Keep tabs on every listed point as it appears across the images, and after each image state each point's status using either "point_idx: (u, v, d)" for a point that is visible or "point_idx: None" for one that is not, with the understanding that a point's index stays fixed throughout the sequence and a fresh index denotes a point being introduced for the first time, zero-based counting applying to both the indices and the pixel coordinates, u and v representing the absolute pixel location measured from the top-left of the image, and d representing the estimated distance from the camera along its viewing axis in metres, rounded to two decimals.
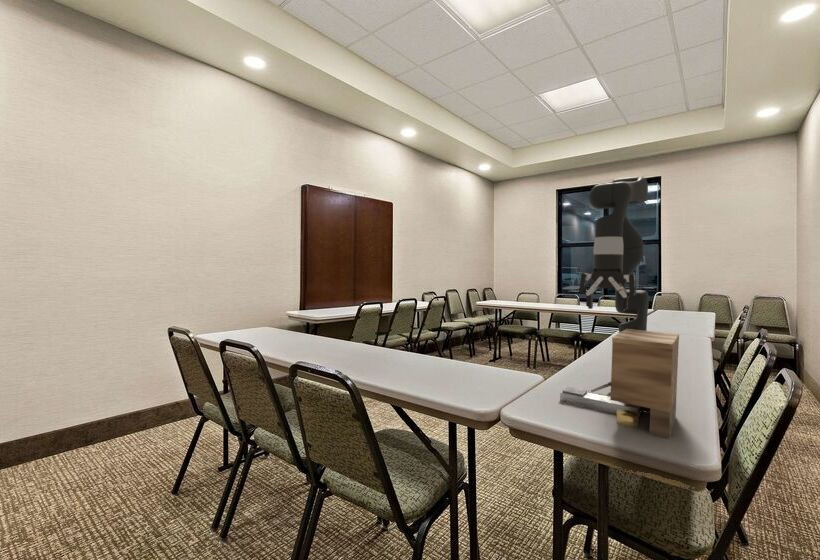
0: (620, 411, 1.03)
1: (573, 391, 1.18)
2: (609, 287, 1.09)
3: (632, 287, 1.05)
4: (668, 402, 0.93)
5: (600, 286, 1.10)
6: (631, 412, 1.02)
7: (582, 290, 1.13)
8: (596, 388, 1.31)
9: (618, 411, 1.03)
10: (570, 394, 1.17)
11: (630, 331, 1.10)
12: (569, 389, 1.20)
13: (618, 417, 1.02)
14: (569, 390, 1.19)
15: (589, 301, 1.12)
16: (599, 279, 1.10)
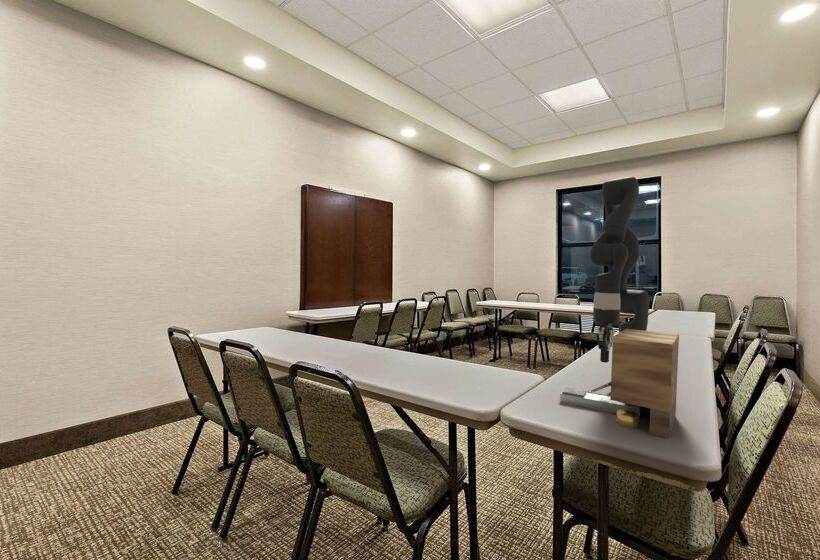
0: (620, 411, 1.03)
1: (573, 392, 1.17)
2: None
3: None
4: (668, 402, 0.93)
5: (608, 338, 1.19)
6: (631, 412, 1.02)
7: (607, 346, 1.18)
8: (596, 388, 1.31)
9: (618, 411, 1.03)
10: (570, 395, 1.16)
11: (630, 331, 1.10)
12: (568, 390, 1.19)
13: (618, 417, 1.02)
14: (569, 391, 1.18)
15: (608, 355, 1.20)
16: (611, 332, 1.18)
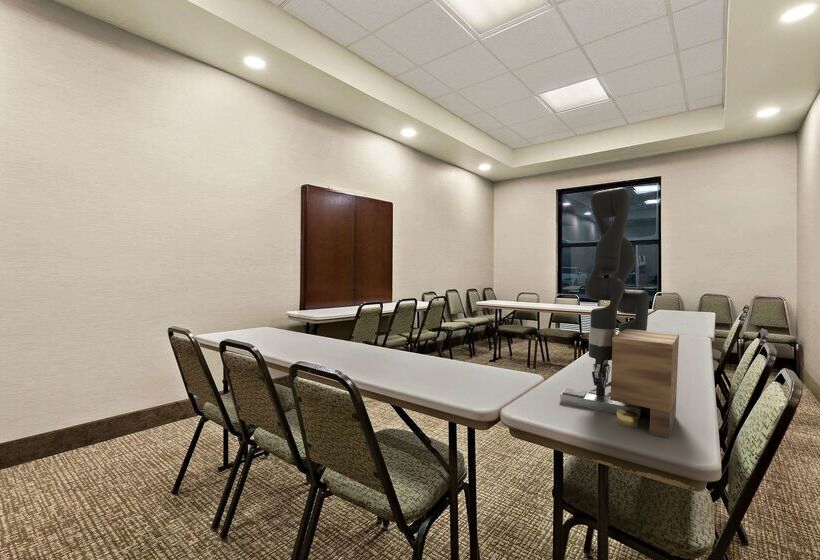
0: (620, 411, 1.03)
1: (573, 392, 1.17)
2: None
3: None
4: (668, 402, 0.93)
5: None
6: (631, 412, 1.02)
7: (603, 383, 1.15)
8: None
9: (618, 411, 1.03)
10: (570, 396, 1.16)
11: (630, 331, 1.10)
12: (568, 390, 1.19)
13: (618, 417, 1.02)
14: (569, 391, 1.18)
15: (604, 392, 1.17)
16: (607, 369, 1.16)
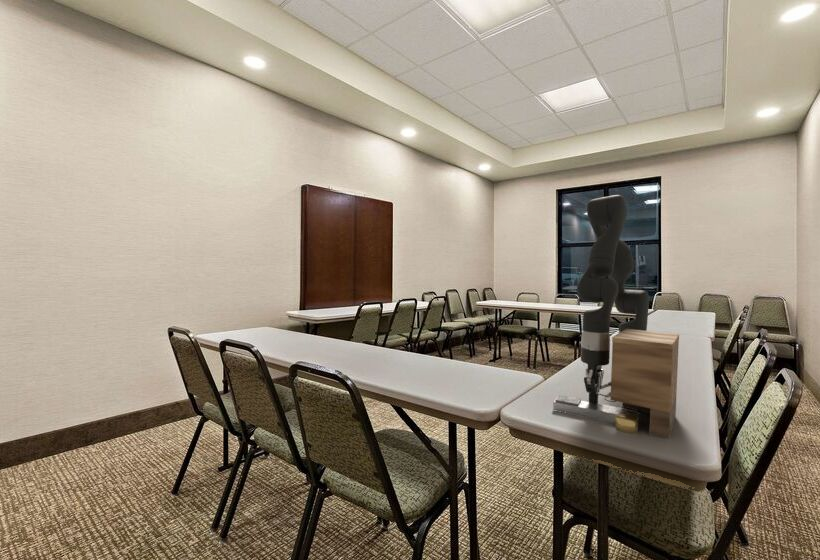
0: (619, 415, 1.00)
1: (567, 400, 1.10)
2: None
3: None
4: (668, 402, 0.93)
5: None
6: (630, 416, 0.99)
7: (596, 389, 1.09)
8: None
9: (617, 415, 0.99)
10: (564, 403, 1.09)
11: (630, 331, 1.10)
12: (562, 398, 1.12)
13: (617, 422, 0.98)
14: (562, 399, 1.11)
15: (597, 399, 1.11)
16: (600, 375, 1.09)
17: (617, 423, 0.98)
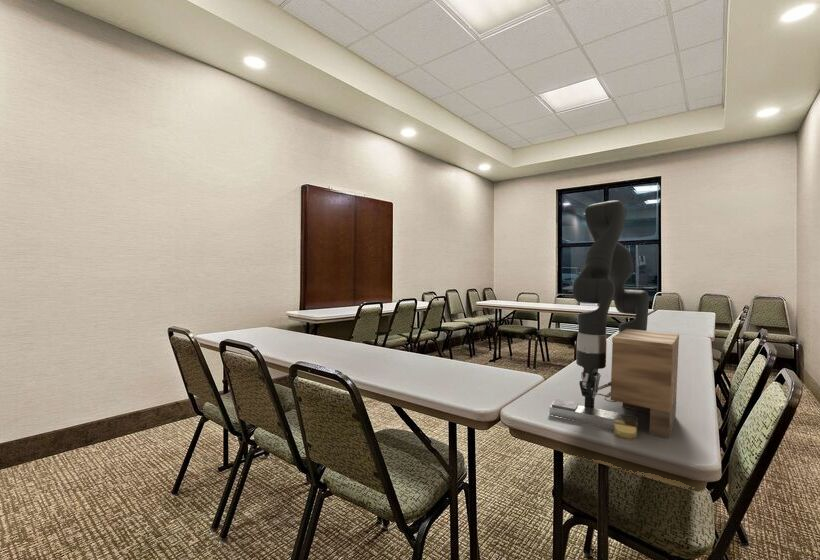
0: (618, 421, 0.96)
1: (563, 405, 1.06)
2: None
3: None
4: (668, 402, 0.93)
5: None
6: (629, 422, 0.95)
7: (592, 394, 1.05)
8: None
9: (616, 422, 0.96)
10: (561, 408, 1.05)
11: (630, 331, 1.10)
12: (558, 402, 1.08)
13: (616, 428, 0.94)
14: (559, 404, 1.07)
15: (593, 403, 1.07)
16: (596, 378, 1.06)
17: (616, 430, 0.94)
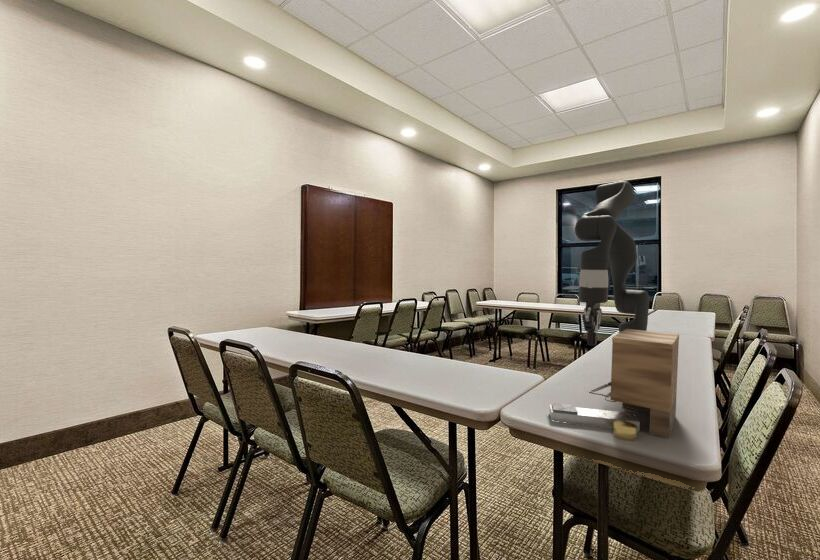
0: (617, 422, 0.95)
1: (564, 408, 1.03)
2: None
3: (600, 322, 1.13)
4: (668, 402, 0.93)
5: (595, 319, 1.09)
6: (629, 423, 0.95)
7: (594, 327, 1.08)
8: (596, 388, 1.31)
9: (616, 422, 0.95)
10: (563, 413, 1.02)
11: (630, 331, 1.10)
12: (557, 406, 1.05)
13: (616, 429, 0.94)
14: (559, 408, 1.04)
15: (595, 338, 1.10)
16: (598, 313, 1.09)
17: (615, 430, 0.94)
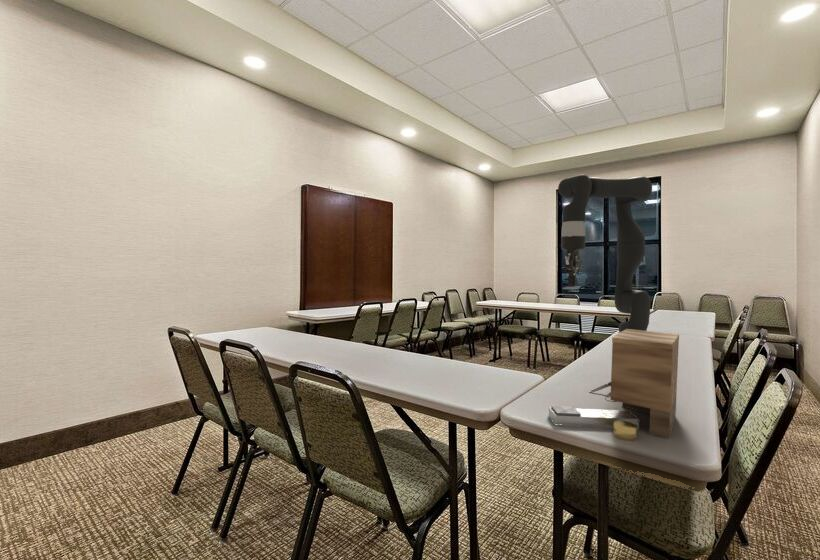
0: (617, 422, 0.95)
1: (566, 411, 1.02)
2: None
3: (579, 268, 1.33)
4: (668, 402, 0.93)
5: (574, 263, 1.29)
6: (629, 423, 0.95)
7: (573, 270, 1.28)
8: (596, 388, 1.31)
9: (616, 422, 0.95)
10: (567, 415, 1.00)
11: (630, 331, 1.10)
12: (558, 409, 1.03)
13: (616, 429, 0.94)
14: (561, 410, 1.02)
15: (575, 280, 1.30)
16: (577, 258, 1.28)
17: (615, 430, 0.94)
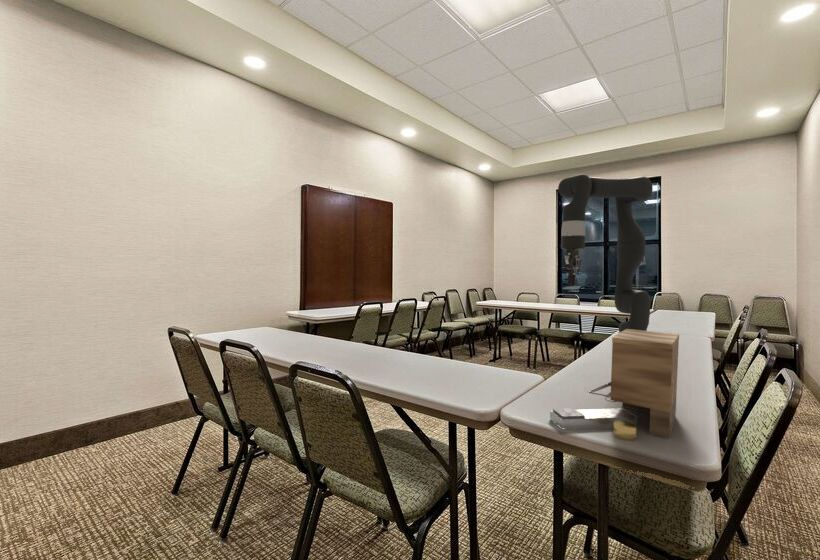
0: (617, 422, 0.95)
1: (570, 414, 1.00)
2: None
3: (579, 267, 1.33)
4: (668, 402, 0.93)
5: (574, 263, 1.29)
6: (629, 423, 0.95)
7: (573, 270, 1.28)
8: (597, 388, 1.31)
9: (616, 422, 0.95)
10: (572, 418, 0.98)
11: (630, 331, 1.10)
12: (562, 412, 1.01)
13: (616, 429, 0.94)
14: (565, 413, 1.00)
15: (574, 279, 1.30)
16: (577, 257, 1.28)
17: (615, 430, 0.94)
